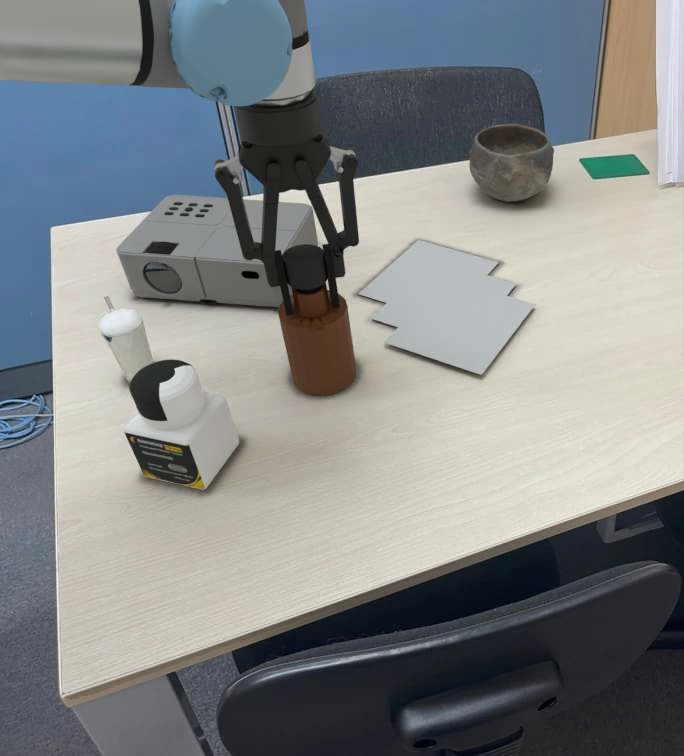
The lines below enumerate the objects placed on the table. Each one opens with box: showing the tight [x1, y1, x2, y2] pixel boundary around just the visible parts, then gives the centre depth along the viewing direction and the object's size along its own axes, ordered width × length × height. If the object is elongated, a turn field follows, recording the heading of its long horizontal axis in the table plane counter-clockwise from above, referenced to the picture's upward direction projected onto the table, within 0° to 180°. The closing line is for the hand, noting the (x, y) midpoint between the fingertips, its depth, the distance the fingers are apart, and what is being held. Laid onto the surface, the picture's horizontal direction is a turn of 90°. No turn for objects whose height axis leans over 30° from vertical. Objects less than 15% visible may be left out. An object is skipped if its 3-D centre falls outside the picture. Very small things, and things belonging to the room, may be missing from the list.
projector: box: [116, 194, 319, 309], centre depth 100 cm, size 17×22×8 cm
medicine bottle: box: [123, 358, 240, 491], centre depth 71 cm, size 7×7×12 cm
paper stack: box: [357, 239, 536, 376], centre depth 98 cm, size 23×25×1 cm
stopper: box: [282, 244, 328, 294], centre depth 77 cm, size 4×4×7 cm
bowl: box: [468, 123, 555, 203], centre depth 121 cm, size 14×15×10 cm
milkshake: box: [97, 294, 155, 384], centre depth 82 cm, size 4×5×10 cm
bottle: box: [277, 281, 357, 397], centre depth 82 cm, size 8×8×13 cm
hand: (311, 303), depth 79 cm, fingers closed on stopper, 4 cm apart
